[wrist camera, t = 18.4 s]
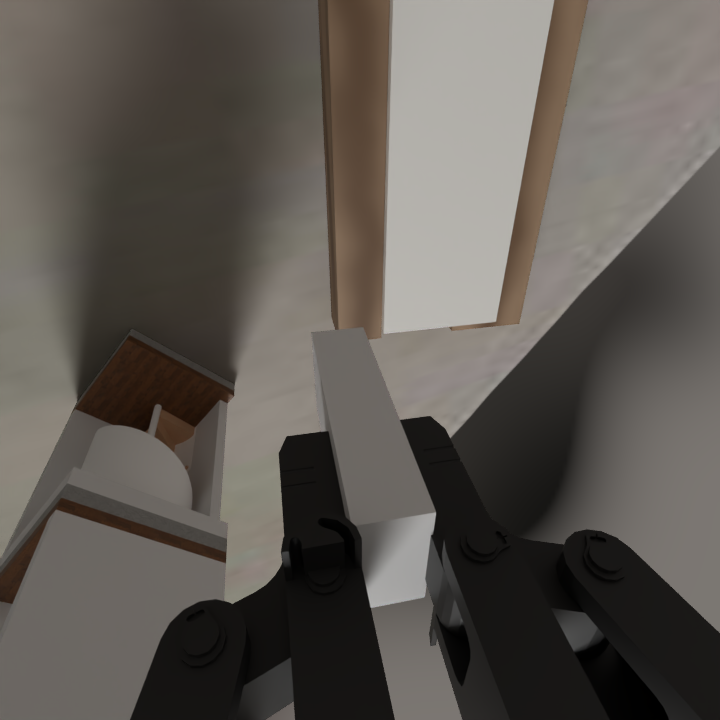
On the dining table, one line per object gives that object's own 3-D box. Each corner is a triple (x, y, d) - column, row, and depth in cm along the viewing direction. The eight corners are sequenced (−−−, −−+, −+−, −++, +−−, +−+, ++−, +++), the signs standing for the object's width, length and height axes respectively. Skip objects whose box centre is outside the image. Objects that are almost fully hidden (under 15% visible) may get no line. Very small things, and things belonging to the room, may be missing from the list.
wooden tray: (331, 316, 48) (339, 342, 44) (316, -44, 32) (325, -57, 28) (497, 301, 50) (519, 323, 46) (558, -39, 35) (598, -49, 31)
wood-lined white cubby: (234, 384, 50) (212, 835, 22) (179, 446, 53) (96, 910, 25) (131, 328, 44) (-84, 840, 16) (77, 401, 48) (-184, 937, 19)
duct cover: (381, 329, 44) (383, 333, 43) (391, -34, 29) (394, -36, 28) (492, 317, 45) (495, 321, 45) (553, -31, 31) (559, -32, 30)
